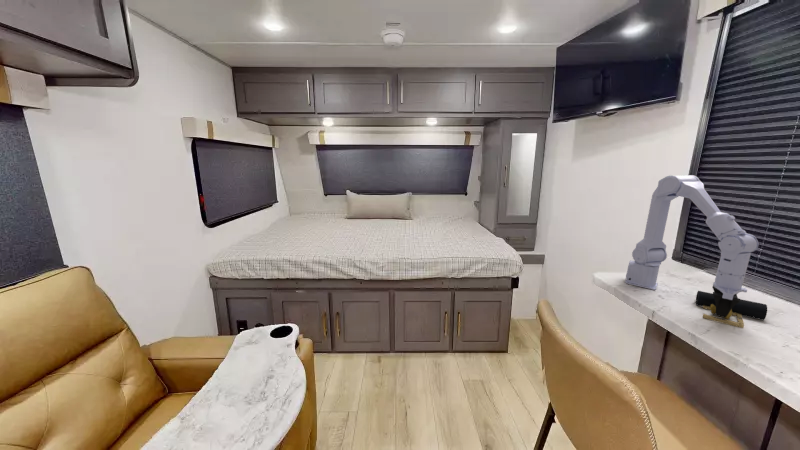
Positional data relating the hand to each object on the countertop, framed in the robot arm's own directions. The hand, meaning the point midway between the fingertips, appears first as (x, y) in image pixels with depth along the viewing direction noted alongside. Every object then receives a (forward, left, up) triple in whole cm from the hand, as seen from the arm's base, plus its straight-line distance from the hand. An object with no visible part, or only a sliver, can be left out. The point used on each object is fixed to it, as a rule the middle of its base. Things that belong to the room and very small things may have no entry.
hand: (720, 312), depth 93 cm
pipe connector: (+2, +11, -2) cm, 11 cm away
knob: (0, 0, -2) cm, 2 cm away
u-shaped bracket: (0, 0, -1) cm, 1 cm away
